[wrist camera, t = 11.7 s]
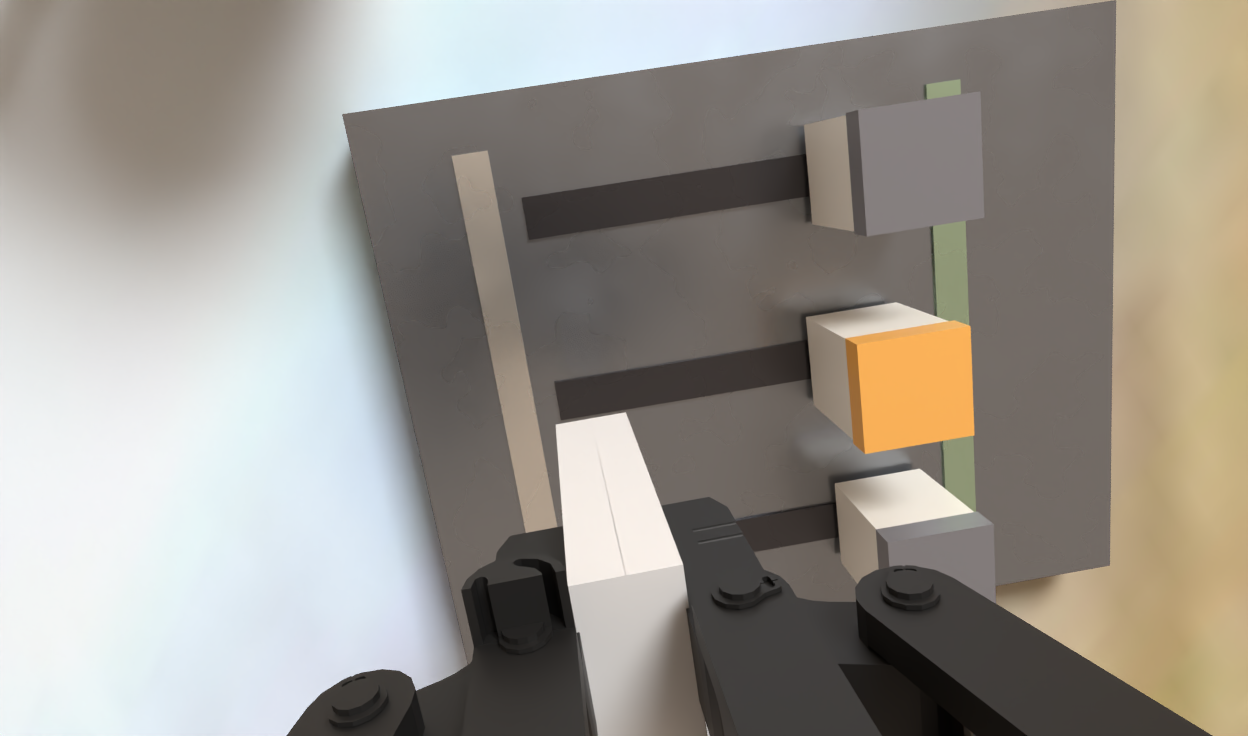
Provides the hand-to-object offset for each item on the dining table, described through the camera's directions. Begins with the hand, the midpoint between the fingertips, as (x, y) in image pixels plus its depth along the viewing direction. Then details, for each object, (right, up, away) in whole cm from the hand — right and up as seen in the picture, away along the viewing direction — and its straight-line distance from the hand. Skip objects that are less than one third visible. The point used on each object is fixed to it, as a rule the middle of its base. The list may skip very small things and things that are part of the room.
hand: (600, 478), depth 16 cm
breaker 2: (+9, -2, +8) cm, 12 cm away
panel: (+5, +3, +9) cm, 11 cm away
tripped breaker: (+8, +3, +7) cm, 11 cm away
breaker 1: (+7, +8, +6) cm, 12 cm away
